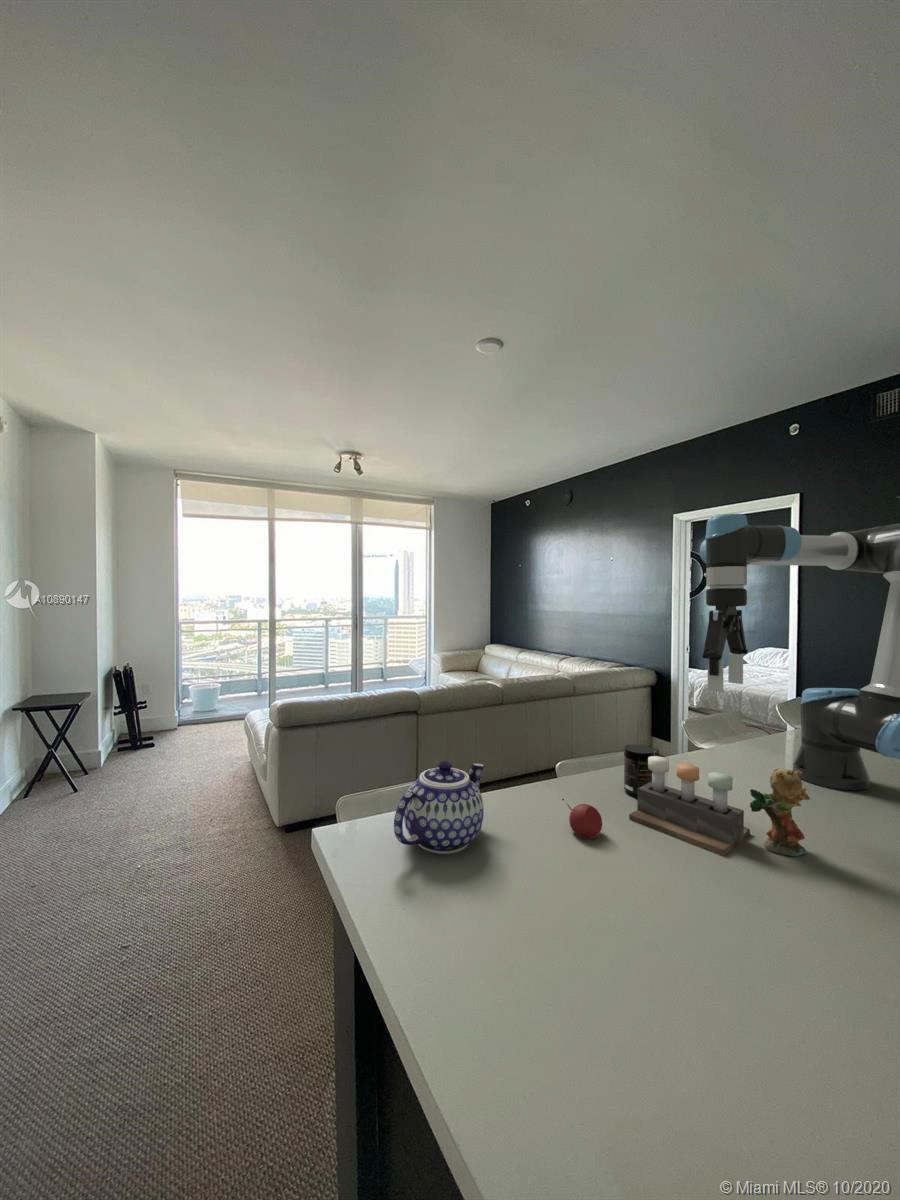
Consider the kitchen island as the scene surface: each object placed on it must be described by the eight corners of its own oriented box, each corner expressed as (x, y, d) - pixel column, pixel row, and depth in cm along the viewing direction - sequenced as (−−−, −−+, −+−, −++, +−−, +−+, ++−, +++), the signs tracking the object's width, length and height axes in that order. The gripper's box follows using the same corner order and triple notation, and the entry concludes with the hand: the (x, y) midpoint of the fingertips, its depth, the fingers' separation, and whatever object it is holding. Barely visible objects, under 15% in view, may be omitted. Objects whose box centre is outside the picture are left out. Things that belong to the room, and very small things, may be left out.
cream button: (653, 785, 101) (654, 754, 101) (672, 790, 98) (672, 759, 98) (644, 789, 99) (644, 758, 99) (663, 795, 96) (663, 764, 96)
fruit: (588, 835, 94) (571, 794, 97) (610, 830, 90) (592, 788, 93) (569, 845, 90) (552, 802, 93) (591, 841, 86) (573, 796, 90)
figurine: (803, 844, 87) (803, 763, 87) (814, 864, 80) (814, 777, 80) (745, 833, 91) (745, 756, 91) (751, 852, 84) (752, 769, 84)
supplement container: (661, 795, 109) (661, 750, 109) (641, 801, 105) (642, 755, 105) (636, 785, 115) (636, 742, 115) (617, 791, 111) (617, 747, 111)
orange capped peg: (682, 794, 97) (682, 762, 97) (702, 800, 94) (702, 767, 94) (673, 799, 94) (673, 766, 94) (693, 805, 91) (693, 772, 91)
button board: (658, 802, 105) (659, 778, 105) (749, 833, 91) (750, 805, 91) (629, 819, 97) (629, 792, 97) (723, 856, 83) (724, 824, 83)
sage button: (713, 803, 92) (713, 770, 92) (735, 810, 89) (735, 776, 89) (704, 809, 90) (704, 775, 90) (727, 817, 86) (727, 781, 86)
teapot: (425, 887, 74) (425, 793, 74) (365, 852, 84) (365, 770, 84) (514, 828, 93) (514, 753, 93) (457, 806, 103) (457, 738, 102)
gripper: (725, 588, 112) (725, 678, 112) (685, 586, 95) (685, 692, 95) (762, 588, 106) (762, 682, 106) (727, 586, 89) (727, 697, 89)
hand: (726, 687), depth 100 cm, fingers open, 13 cm apart
